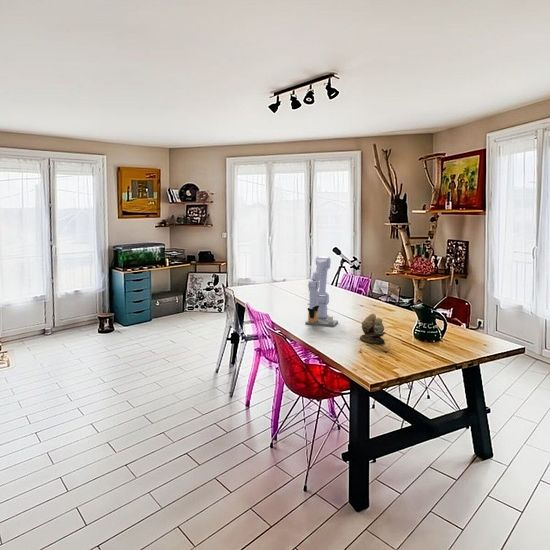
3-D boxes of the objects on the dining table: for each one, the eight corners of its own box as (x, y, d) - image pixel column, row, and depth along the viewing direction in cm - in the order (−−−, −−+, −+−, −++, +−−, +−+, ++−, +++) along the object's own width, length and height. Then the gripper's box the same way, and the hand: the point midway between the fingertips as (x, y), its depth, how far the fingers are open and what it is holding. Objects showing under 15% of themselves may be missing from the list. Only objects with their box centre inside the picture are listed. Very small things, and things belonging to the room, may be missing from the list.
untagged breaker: (328, 321, 301) (328, 315, 300) (332, 322, 300) (333, 316, 299) (327, 322, 298) (327, 316, 297) (331, 323, 297) (332, 317, 296)
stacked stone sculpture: (391, 343, 257) (392, 315, 254) (377, 346, 251) (378, 318, 248) (368, 335, 272) (369, 309, 269) (354, 339, 265) (355, 311, 263)
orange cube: (310, 319, 307) (310, 310, 306) (318, 320, 305) (318, 311, 304) (308, 320, 301) (308, 312, 301) (316, 321, 299) (316, 312, 299)
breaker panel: (310, 320, 310) (310, 317, 310) (337, 322, 303) (337, 319, 303) (305, 324, 299) (305, 320, 299) (334, 326, 292) (334, 323, 292)
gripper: (310, 295, 309) (310, 314, 311) (305, 299, 295) (304, 318, 297) (320, 296, 306) (320, 314, 308) (315, 300, 293) (314, 319, 295)
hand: (313, 316), depth 303 cm, fingers open, 7 cm apart
